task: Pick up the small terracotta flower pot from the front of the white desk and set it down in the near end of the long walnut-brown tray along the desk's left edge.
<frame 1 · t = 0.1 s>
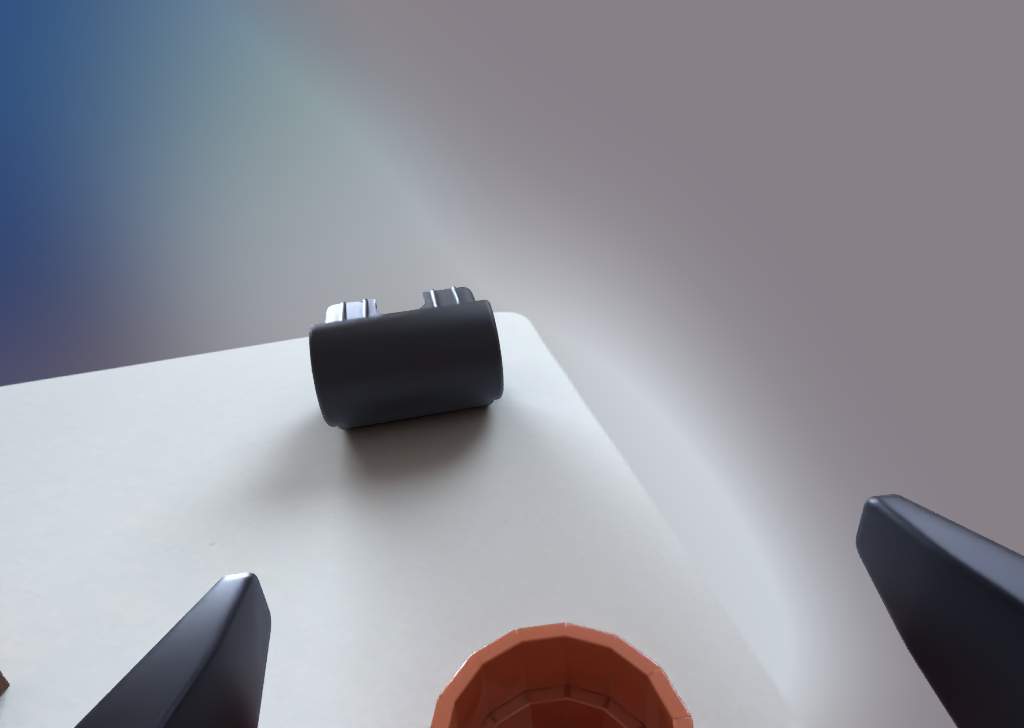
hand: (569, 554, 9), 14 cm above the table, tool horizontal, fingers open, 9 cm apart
end cap: (417, 412, 39), on the table
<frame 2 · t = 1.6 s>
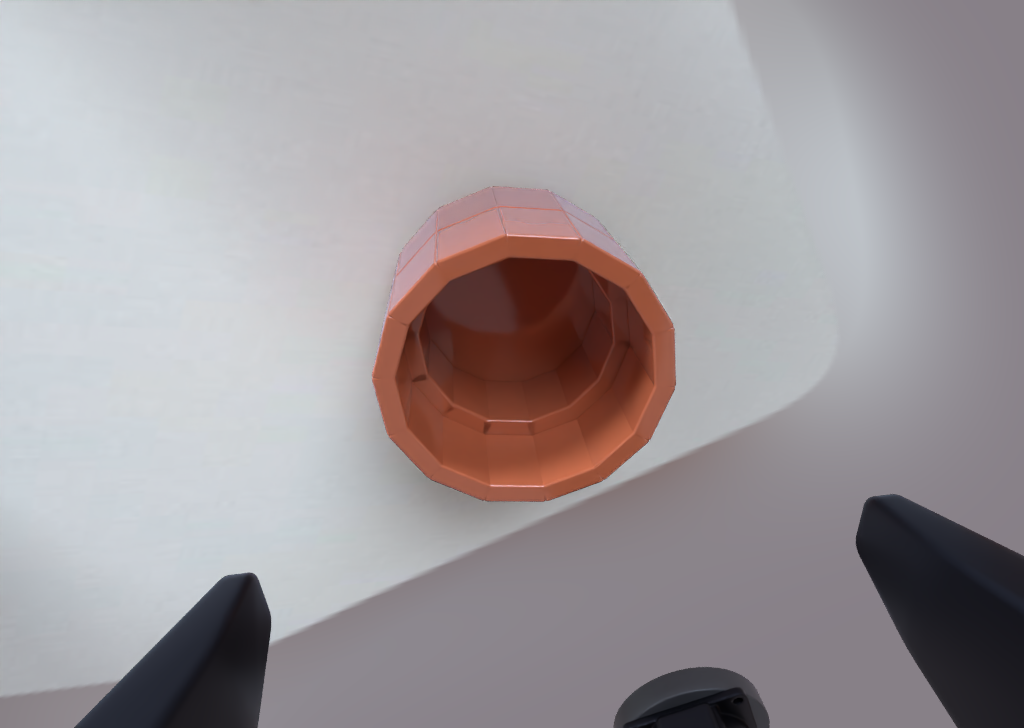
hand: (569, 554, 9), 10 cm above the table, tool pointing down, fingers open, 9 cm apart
terracotta flower pot: (508, 299, 18), on the table
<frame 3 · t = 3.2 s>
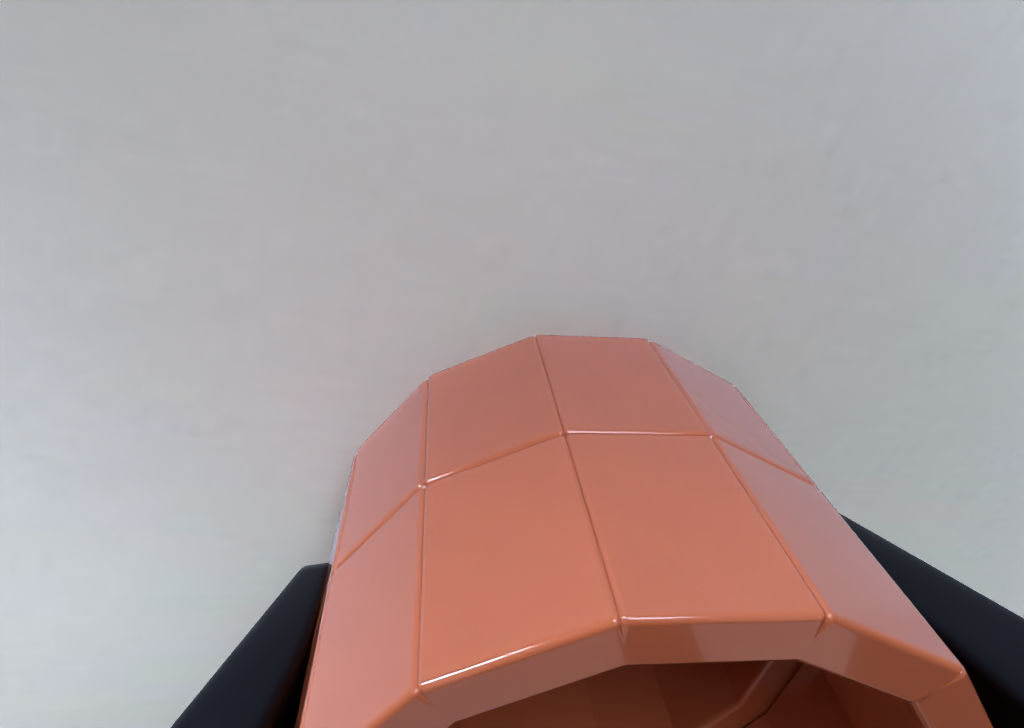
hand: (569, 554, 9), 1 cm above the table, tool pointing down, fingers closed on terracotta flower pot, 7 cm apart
terracotta flower pot: (556, 507, 10), on the table, touching gripper
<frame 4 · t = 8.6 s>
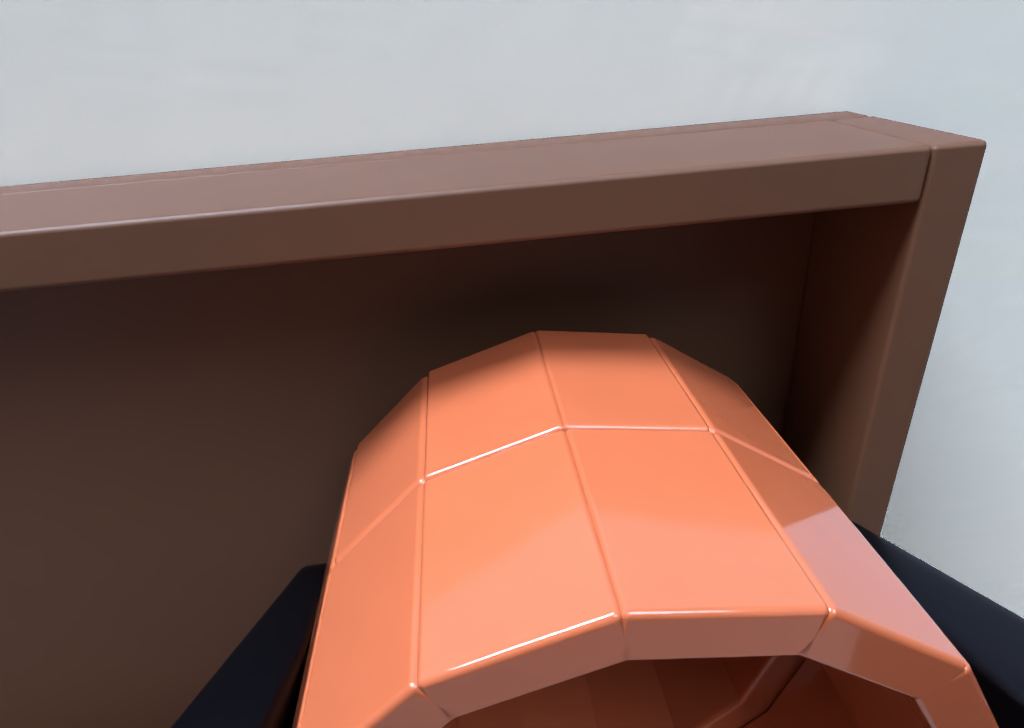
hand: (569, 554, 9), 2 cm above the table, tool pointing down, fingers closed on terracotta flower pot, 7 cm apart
terracotta flower pot: (556, 504, 10), point 1 cm above the table, touching gripper
tray: (107, 516, 11), on the table
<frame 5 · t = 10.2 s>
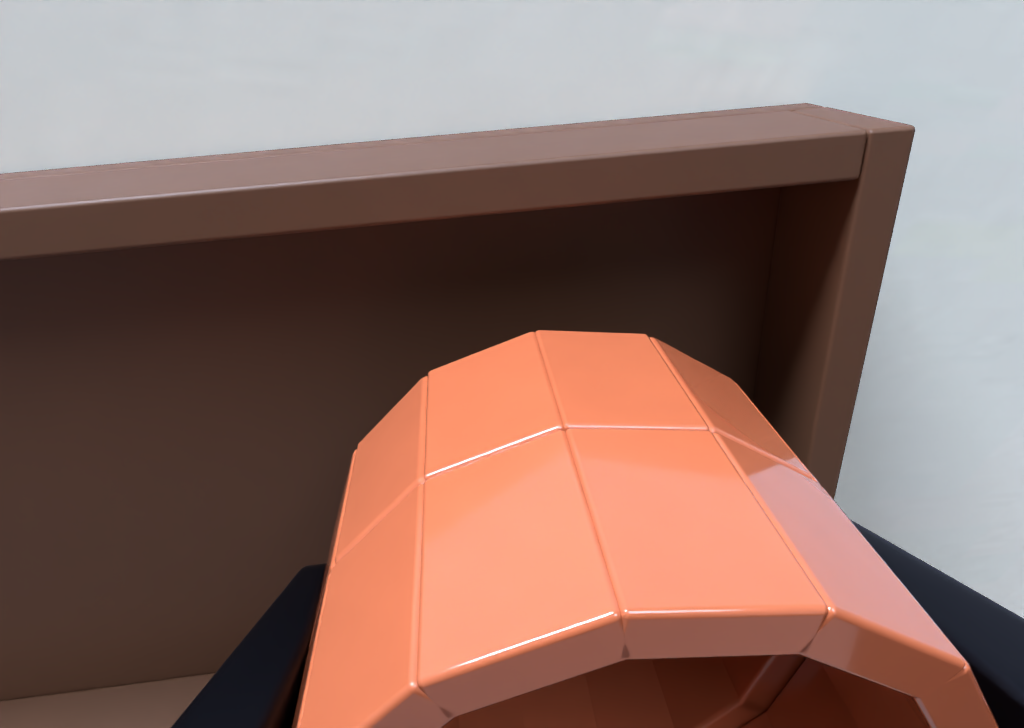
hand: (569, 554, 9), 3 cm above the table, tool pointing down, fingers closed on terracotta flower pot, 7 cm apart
terracotta flower pot: (556, 504, 10), point 2 cm above the table, touching gripper
tray: (141, 473, 12), on the table
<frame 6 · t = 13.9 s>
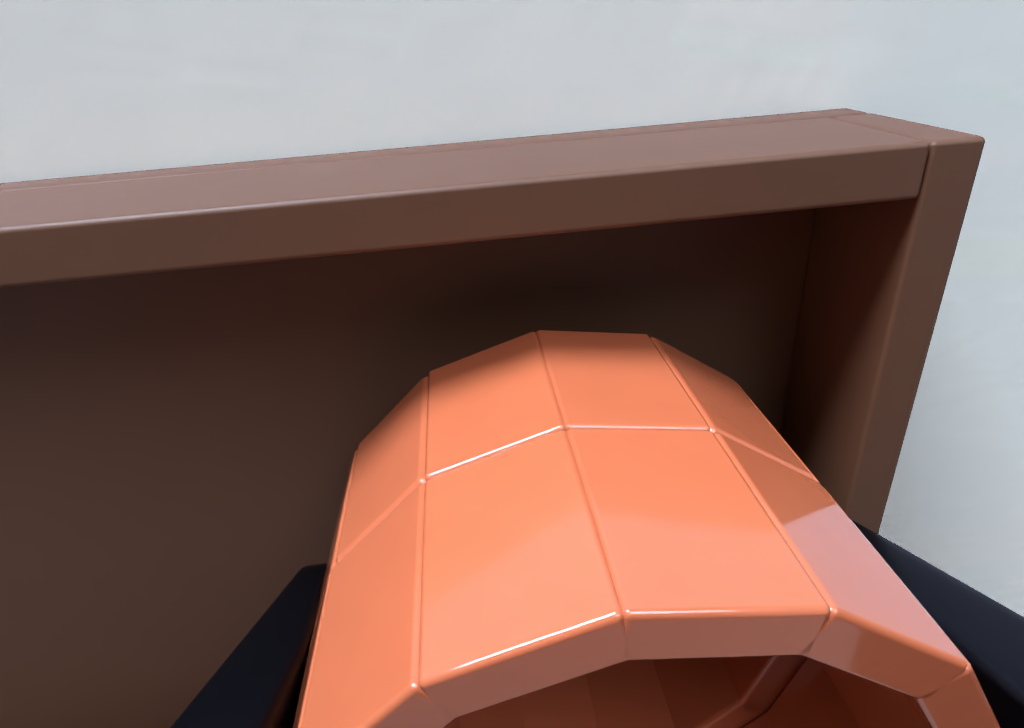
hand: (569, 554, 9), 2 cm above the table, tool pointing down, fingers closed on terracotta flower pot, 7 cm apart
terracotta flower pot: (556, 504, 10), point 1 cm above the table, touching gripper
tray: (107, 513, 11), on the table
when the fingers open (3 cm above the table, at t = 17.5 s): terracotta flower pot drops 2 cm, resting on tray.
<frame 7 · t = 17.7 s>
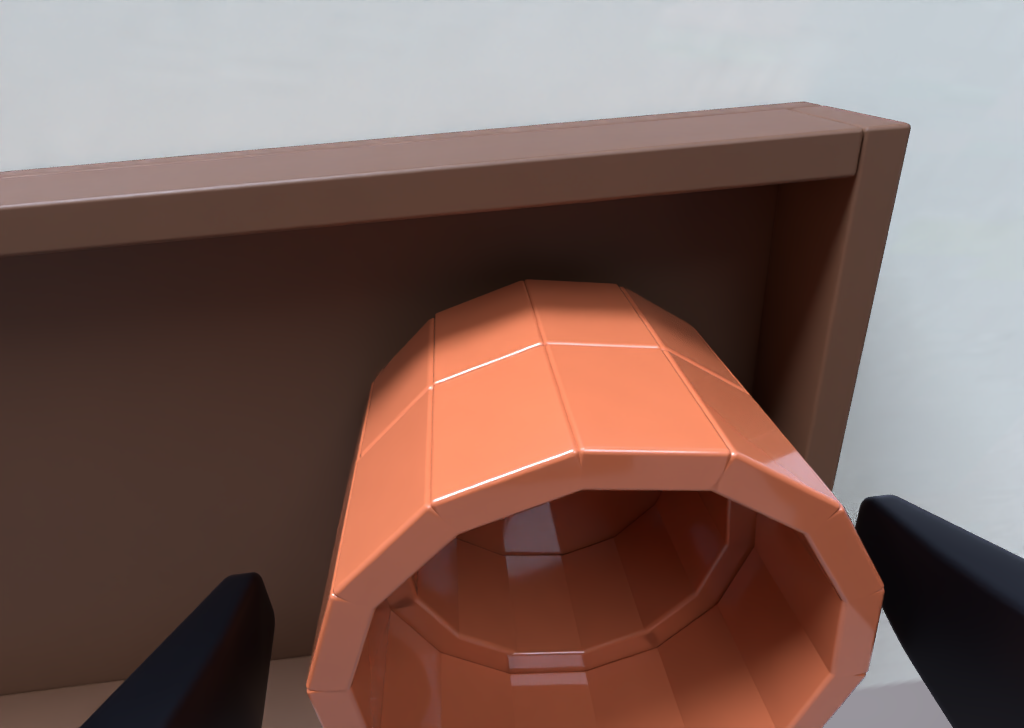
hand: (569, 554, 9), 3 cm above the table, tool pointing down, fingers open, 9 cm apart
terracotta flower pot: (543, 438, 12), point 1 cm above the table, touching tray
tray: (144, 468, 12), on the table
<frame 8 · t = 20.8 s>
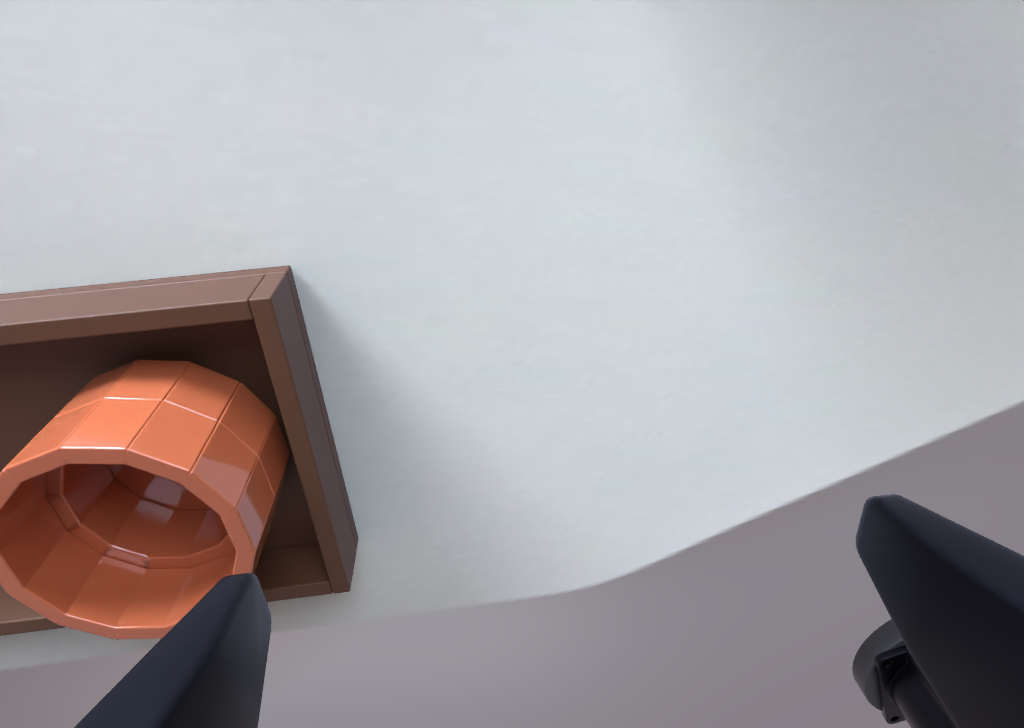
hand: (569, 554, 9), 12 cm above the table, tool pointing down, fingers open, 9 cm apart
terracotta flower pot: (187, 441, 21), point 1 cm above the table, touching tray
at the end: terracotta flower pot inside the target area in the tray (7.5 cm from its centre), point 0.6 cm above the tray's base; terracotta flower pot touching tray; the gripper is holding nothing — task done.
